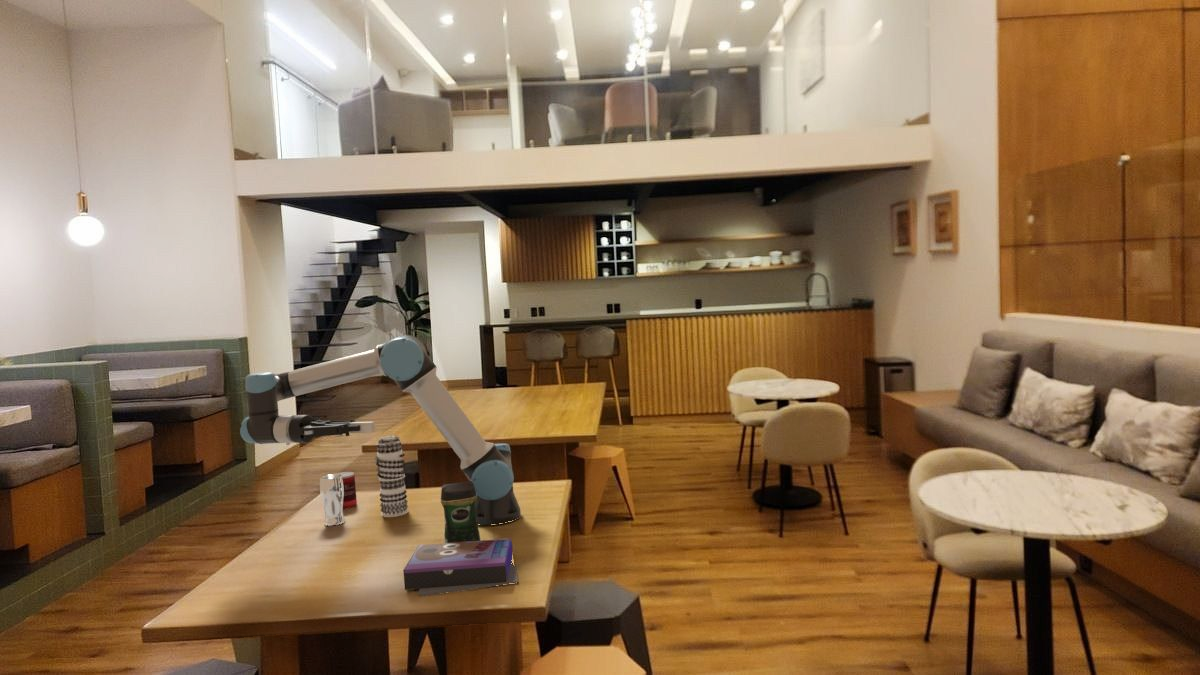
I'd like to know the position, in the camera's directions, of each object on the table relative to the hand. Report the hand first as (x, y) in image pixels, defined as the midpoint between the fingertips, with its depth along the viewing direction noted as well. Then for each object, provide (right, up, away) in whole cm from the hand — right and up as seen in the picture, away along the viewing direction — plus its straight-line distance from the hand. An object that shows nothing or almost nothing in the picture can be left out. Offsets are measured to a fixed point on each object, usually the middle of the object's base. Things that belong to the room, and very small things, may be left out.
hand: (373, 427), depth 198 cm
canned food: (-27, -34, +58) cm, 73 cm away
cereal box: (+13, -33, -14) cm, 38 cm away
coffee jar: (+23, -34, +5) cm, 41 cm away
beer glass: (-24, -35, +38) cm, 57 cm away
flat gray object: (+27, -35, -13) cm, 46 cm away
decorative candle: (-7, -34, +45) cm, 57 cm away
